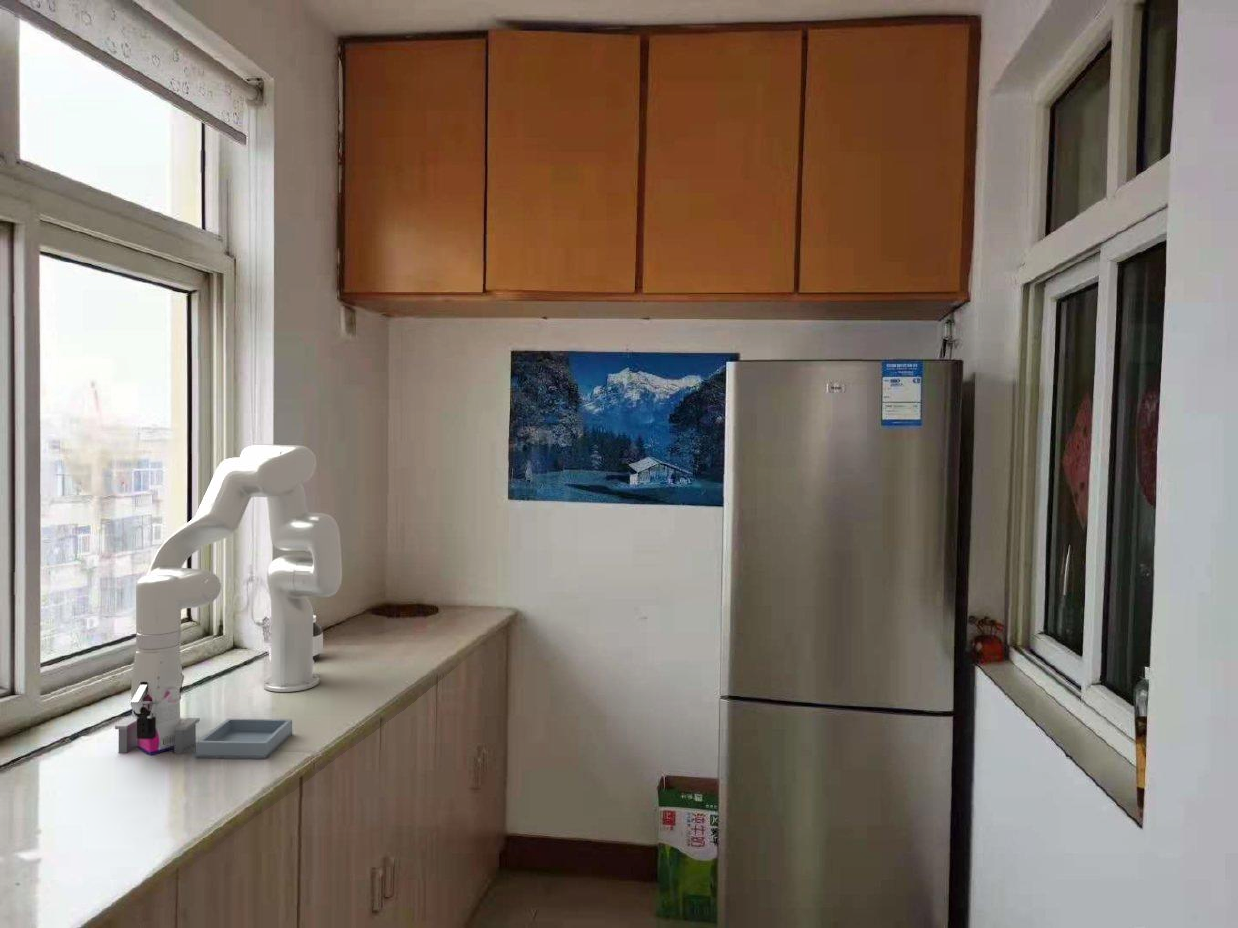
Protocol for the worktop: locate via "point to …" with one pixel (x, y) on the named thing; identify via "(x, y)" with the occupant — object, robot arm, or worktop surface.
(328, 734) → the worktop surface
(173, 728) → the supplement box
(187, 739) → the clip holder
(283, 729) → the tray
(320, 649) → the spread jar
